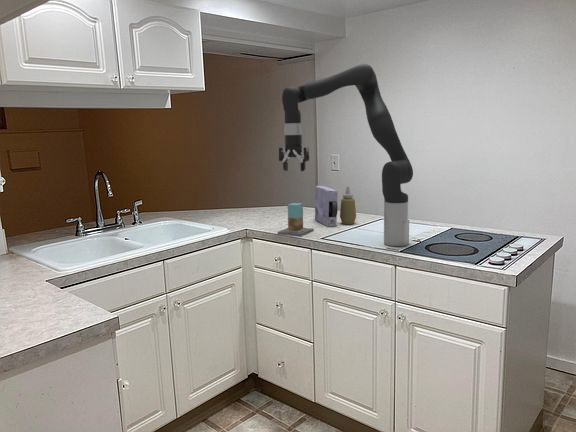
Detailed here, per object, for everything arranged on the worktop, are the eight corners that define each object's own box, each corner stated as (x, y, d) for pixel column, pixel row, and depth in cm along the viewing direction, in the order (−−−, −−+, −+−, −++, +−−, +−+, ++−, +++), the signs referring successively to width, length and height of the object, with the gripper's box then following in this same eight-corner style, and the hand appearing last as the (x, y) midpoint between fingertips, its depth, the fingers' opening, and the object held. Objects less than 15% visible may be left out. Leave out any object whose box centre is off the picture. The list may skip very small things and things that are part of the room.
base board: (313, 230, 214) (313, 228, 214) (300, 236, 204) (300, 234, 204) (291, 228, 220) (291, 226, 220) (277, 233, 210) (277, 231, 210)
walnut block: (303, 229, 213) (302, 216, 212) (297, 231, 209) (297, 218, 207) (293, 228, 215) (293, 215, 214) (288, 230, 211) (287, 217, 210)
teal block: (303, 216, 212) (302, 203, 211) (297, 218, 207) (297, 205, 206) (293, 215, 214) (293, 202, 213) (288, 217, 210) (287, 204, 209)
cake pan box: (338, 226, 221) (338, 190, 218) (328, 227, 220) (328, 190, 216) (323, 219, 239) (322, 185, 236) (314, 220, 238) (313, 186, 234)
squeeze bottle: (351, 225, 222) (350, 188, 219) (336, 224, 227) (336, 187, 224) (359, 222, 228) (359, 186, 225) (345, 221, 233) (344, 185, 230)
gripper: (311, 133, 203) (312, 170, 206) (283, 133, 210) (284, 169, 214) (303, 134, 197) (304, 172, 200) (274, 134, 204) (276, 171, 207)
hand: (294, 170), depth 207 cm, fingers open, 8 cm apart
